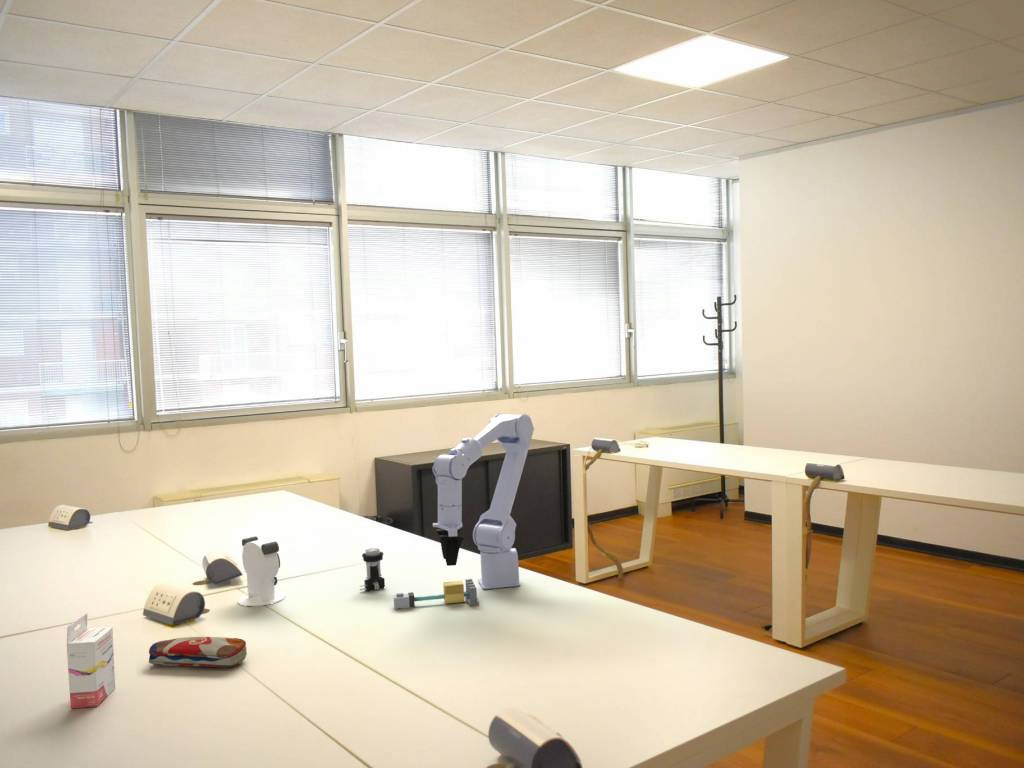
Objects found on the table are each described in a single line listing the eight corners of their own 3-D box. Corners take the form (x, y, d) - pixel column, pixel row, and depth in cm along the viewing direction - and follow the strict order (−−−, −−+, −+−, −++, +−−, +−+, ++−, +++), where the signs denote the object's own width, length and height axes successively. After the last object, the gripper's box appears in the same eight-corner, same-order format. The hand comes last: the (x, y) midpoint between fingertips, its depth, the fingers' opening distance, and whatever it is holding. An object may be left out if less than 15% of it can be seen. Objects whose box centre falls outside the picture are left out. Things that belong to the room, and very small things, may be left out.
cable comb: (473, 594, 206) (473, 577, 206) (479, 605, 197) (478, 588, 197) (464, 595, 206) (463, 578, 206) (469, 606, 197) (468, 589, 197)
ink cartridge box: (98, 707, 149) (93, 625, 148) (69, 709, 148) (64, 627, 148) (117, 687, 157) (112, 610, 156) (90, 689, 157) (84, 611, 156)
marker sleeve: (462, 597, 203) (461, 580, 203) (464, 601, 200) (463, 584, 199) (443, 599, 202) (443, 582, 202) (445, 603, 199) (444, 586, 199)
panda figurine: (295, 598, 209) (292, 538, 208) (254, 610, 201) (250, 548, 200) (269, 590, 217) (266, 532, 217) (229, 601, 209) (225, 541, 208)
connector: (408, 604, 200) (408, 591, 200) (409, 607, 198) (408, 594, 197) (394, 605, 200) (393, 592, 199) (394, 609, 197) (393, 595, 197)
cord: (470, 595, 202) (470, 591, 202) (470, 596, 201) (470, 592, 201) (403, 601, 199) (403, 597, 199) (403, 603, 198) (403, 598, 198)
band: (413, 603, 200) (413, 592, 200) (414, 607, 198) (414, 595, 198) (408, 604, 200) (408, 592, 200) (409, 607, 198) (408, 596, 197)
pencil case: (214, 681, 159) (213, 655, 158) (140, 668, 167) (138, 643, 167) (255, 660, 169) (253, 635, 168) (183, 649, 177) (181, 625, 177)
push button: (364, 594, 210) (362, 554, 210) (355, 589, 214) (353, 551, 214) (388, 588, 214) (386, 550, 213) (379, 584, 218) (377, 546, 218)
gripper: (430, 501, 207) (430, 556, 207) (435, 509, 193) (435, 568, 193) (458, 500, 208) (458, 555, 208) (466, 508, 194) (466, 567, 194)
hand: (449, 561), depth 200 cm, fingers open, 7 cm apart
